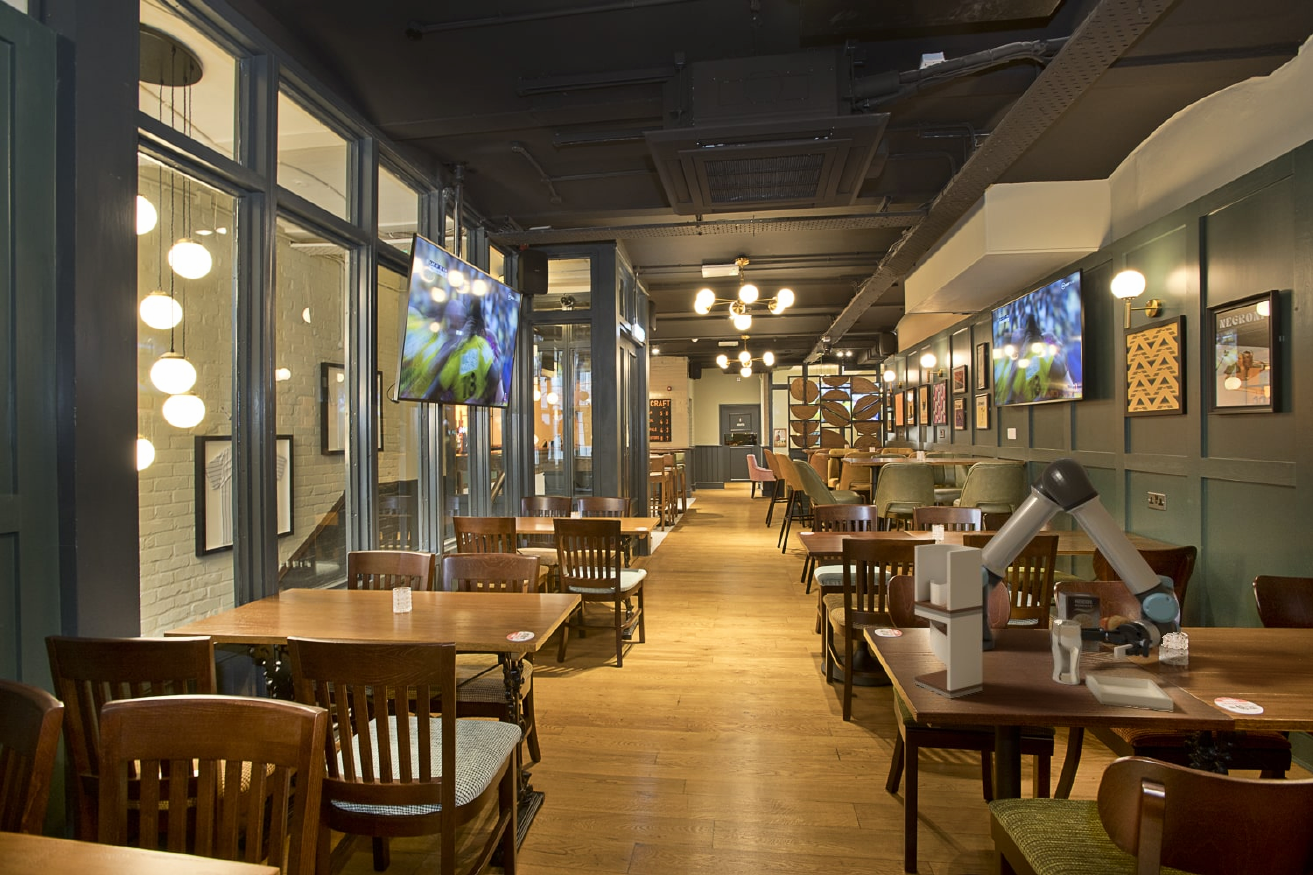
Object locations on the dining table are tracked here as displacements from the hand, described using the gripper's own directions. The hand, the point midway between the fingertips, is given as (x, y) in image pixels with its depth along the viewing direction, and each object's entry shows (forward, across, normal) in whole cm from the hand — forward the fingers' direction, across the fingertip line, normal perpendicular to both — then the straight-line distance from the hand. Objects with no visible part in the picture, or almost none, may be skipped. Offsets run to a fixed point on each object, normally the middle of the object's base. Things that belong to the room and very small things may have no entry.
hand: (1088, 645), depth 176 cm
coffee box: (-22, +16, -8) cm, 29 cm away
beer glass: (+9, 0, -8) cm, 12 cm away
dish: (+7, -13, -8) cm, 17 cm away
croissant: (-45, +18, -8) cm, 49 cm away
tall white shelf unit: (+40, +10, -8) cm, 42 cm away
